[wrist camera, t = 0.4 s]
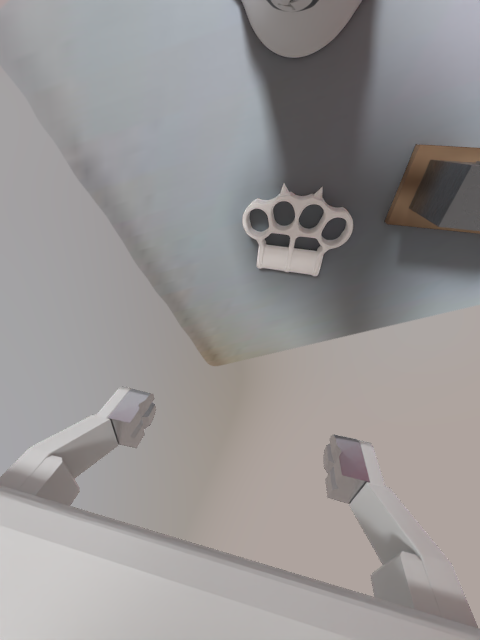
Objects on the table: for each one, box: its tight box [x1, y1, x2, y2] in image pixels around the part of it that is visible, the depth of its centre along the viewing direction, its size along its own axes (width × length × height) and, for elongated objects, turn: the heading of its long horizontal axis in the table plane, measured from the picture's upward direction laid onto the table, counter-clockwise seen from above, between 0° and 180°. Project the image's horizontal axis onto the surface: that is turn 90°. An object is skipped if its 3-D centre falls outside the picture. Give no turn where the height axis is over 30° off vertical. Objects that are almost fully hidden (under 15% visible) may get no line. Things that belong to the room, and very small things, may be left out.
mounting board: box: [385, 145, 480, 234], centre depth 33 cm, size 10×16×2 cm, turn 87°
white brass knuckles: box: [243, 184, 353, 276], centre depth 41 cm, size 3×18×15 cm
